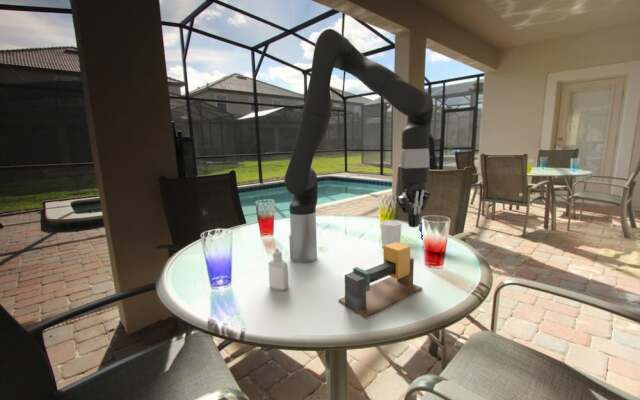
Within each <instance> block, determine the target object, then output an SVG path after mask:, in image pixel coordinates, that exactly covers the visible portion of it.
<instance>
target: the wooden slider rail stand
mask: <svg viewBox="0 0 640 400" xmlns="http://www.w3.org/2000/svg"><path fill="white" fill-rule="evenodd" d="M414 261H415V258H413V257H410V272H409V274H408V275H406V276H404V277H402V278H399V279H396V278H394V277H391V276H389V275H391V274H393V273H395V272H396V263H393V262H390V261H389V262H386V263H384V262H382V263H381V264H379V265H376V266H373V267H371V268H368V269H365V270H364V269H363V268H360V267H358V266H356V267H353V268H352V270H353V271H352V272H349V273H347V274H345V275H344V296H343V297H340V298H339V299H338V303H340V304H342V305H343V306H344V307H346V308H348V309H349V310H351V311H352V312H354V313H355V314H357V315H360V316H361V317H363V318H364V319H369V318H370V317H372V316H374V315H377V314H378V313H380V312H383V310H386V309H388V308H389V307H391V306H394V305H395V304H397V303H399V302H401V301H404V300H405V299H407V298H410V297H411V296H413V295H414V294H416V293H419V292H420V291H422V290H423V287H421V286H419V285H417V284H414ZM388 276H389V277H388ZM386 277H387V278H386ZM383 278H385V279H383ZM381 279H383V280H381ZM378 280H380V281H378ZM377 281H378V282H377ZM374 282H375V283H374ZM371 283H373V284H371ZM370 284H371V285H370Z"/></svg>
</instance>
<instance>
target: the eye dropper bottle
mask: <svg viewBox="0 0 640 400" xmlns="http://www.w3.org/2000/svg"><path fill="white" fill-rule="evenodd" d="M288 268H289V266H288V263H287V262H286V261H285V260H284V259H283V256H282V251H280V249H279V247H275V251H273V252H272V260H270V261H269V262H268V279H269V287H270V288H271V289H273V290H276V291H285V290H287V289H289V286H290V285H289V283H290V282H289V269H288Z"/></svg>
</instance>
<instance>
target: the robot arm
mask: <svg viewBox="0 0 640 400" xmlns="http://www.w3.org/2000/svg"><path fill="white" fill-rule="evenodd" d="M334 69H337V70H340V71H342V72H345V73H347V74H350V75H351V76H353V77H355V78H356V79H358V80H359V81H360V82H361V83H362V84H363V85H365V86H366V87H367V88H368V89H369V90H370V91H372V92H373V93H375V94H376V95H378V96H379V97H381V99H384V100H385V101H387V102H388V103H389V104H390V105H391V106H392V107H394V108H395V109H396V110H397V111H399V112H400V113H401V114H403V115H405V116H407V122H406V126H405V128H403V130H402V133H401V154H400V169H399V170H400V176H399V177H400V179H399V181H400V183H401V184H403V185H402V189H401V192H402V193H401V195H400V196H399V195H398V196H397V197H396V201H397V203H398V205H399V207H400V209H401V210H402V212H403V213H407V217H408V219H407V220H408V221H407V222H408V227H410V228H417V227H419V217H420V213H421V211H424V210H425V209H426V208H425V207H426V206H427V203H428V201H429V199H430V196H431V191H427V190H426V184H427V183H429V180H430V179H429V177H430V151H429V150H430V149H429V147H430V127H431V125H432V119H433V113H434V100H433V97H432V96H431V94H430V93H429V92H428V91H426V90H422V89H420V88H419V87H416V86H415V85H413V84H411V83H410V82H407V81H406V80H405V79H404V78H403V77H402V76H400V75H399V74H398V73H396V72H395V71H392V70H391V69H389V68H388V67H386V66H384V65H382V64H380V63H379V62H377V61H374V60H372V59H370V58H368V57H367V56H365V55H364V54H363V53H362V52H360V51H359V49H357V48H356V47H355V46H354V45H353V44H352V43H351V41H350V40H349V39H348V38H347V37H345V36H344V35H342V34H341V33H340V32H339V31H337V30H335V29H333V28H326V29H324V30H323V31H322V32H320V34H319V36H318V37H317V40H316V42H315V45H314V50H313V56H312V64H311V70H310V71H311V72H310V77H309V82H308V86H307V91H306V95H305V101H304V106H303V109H302V113H301V116H300V120H299V127H298V130H297V134H296V139H295V143H294V146H293V147H294V148H293V150H292V151H293V152H292V155H291V158H290V160H289V163H288V166H287V169H286V172H285V175H284V186H285V188H286V191H288V193H290V194H291V195H293V199H292V201H291V202H290V204H289V224H290V225H289V227H290V233H289V234H288V236H289V237H288V238H289V239H288V242H289V260H290V261H293V262H296V263H310V262H313V261H315V260H317V259H318V246H317V239H318V238H317V214H316V213H317V211H316V209H317V204H318V188H319V187H318V185H319V184H318V175H317V173H316V171H315V170H314V169H313V168H312V165H313V160H314V156H316V155H315V154H316V152H317V151H318V149H319V147H320V146H321V144H322V142H323V140H324V138H325V137H326V134H327V132H328V128H329V125H330V121H331V118H332V111H333V110H332V109H333V108H332V105H333V104H332V96H331V95H332V94H331V80H332V75H333V70H334Z"/></svg>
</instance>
